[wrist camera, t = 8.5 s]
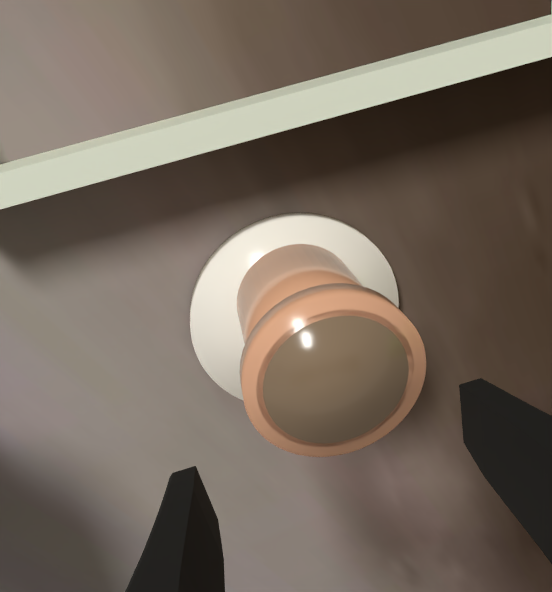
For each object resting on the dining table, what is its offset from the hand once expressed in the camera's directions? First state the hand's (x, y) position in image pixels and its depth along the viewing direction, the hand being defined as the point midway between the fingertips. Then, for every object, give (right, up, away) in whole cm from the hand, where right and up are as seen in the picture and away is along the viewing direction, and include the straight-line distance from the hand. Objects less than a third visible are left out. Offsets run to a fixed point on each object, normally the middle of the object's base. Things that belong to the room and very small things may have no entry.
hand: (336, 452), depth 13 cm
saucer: (-1, +3, +9) cm, 9 cm away
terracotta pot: (-1, +4, +8) cm, 9 cm away
